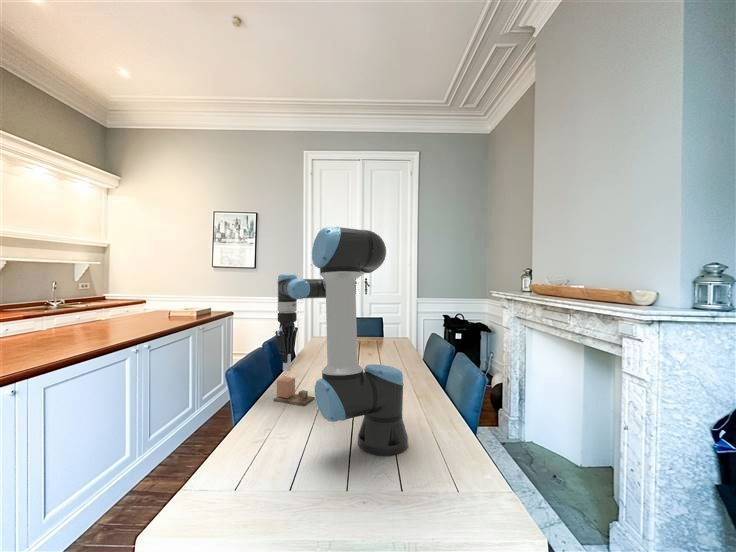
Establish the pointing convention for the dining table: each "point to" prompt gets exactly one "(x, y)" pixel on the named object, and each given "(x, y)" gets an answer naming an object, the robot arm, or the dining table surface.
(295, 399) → the peg stand
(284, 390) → the tan upright block
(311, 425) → the dining table surface
